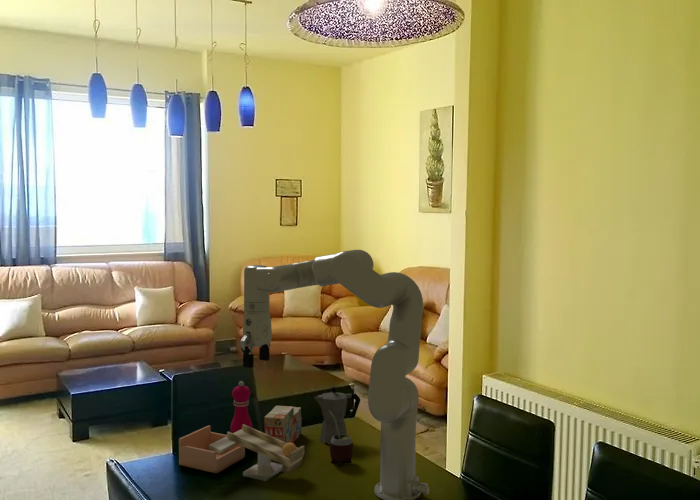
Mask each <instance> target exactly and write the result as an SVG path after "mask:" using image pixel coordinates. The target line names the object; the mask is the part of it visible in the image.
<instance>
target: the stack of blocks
mask: <svg viewBox="0 0 700 500" xmlns="http://www.w3.org/2000/svg"><path fill="white" fill-rule="evenodd" d="M263 419H264V421H263V422H264V427H263V428H264V429H263V430H264V432H263V433H265V434H267V435H269V436H272V437H274V438H276V439H279V440H281V441H283V442H285V443H293V444H295V442H296V441H297V439H299V438H300V436H301V435H302V407H300V406H299V407H297V406H287V405H275V406H274V407H273V408H272V409H271V411H269V412H268V413H267V414H266V415H265V416H264V417H263ZM299 435H300V436H299ZM294 441H295V442H294Z"/></svg>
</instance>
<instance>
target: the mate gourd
mask: <svg viewBox="0 0 700 500" xmlns="http://www.w3.org/2000/svg"><path fill="white" fill-rule="evenodd" d="M329 412H330V414H331V415H332V417H333V418H334V422H335V425H336V429H337V433H338V435H335V436H333V437H332V439H331V441H330V445H329V454H330V459H331V460H330V463H331V464H338V467H339V468H342V467H341V466H343V464H342V463H351V464H352V457H353V452H354V450H353V449H354V444H353V443H354V442H353V440H352V438H351V437H350V436H349V435H348V434H347V435H343V434H339V430H338V426H337V420H336V419H335V417H334V415H333V414H332V413H331V411H330V410H329Z"/></svg>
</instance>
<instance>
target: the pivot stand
mask: <svg viewBox="0 0 700 500" xmlns="http://www.w3.org/2000/svg"><path fill="white" fill-rule="evenodd" d="M282 466H283V464H281V463H279V462H277V463H276V462H274V461H273V462H272V459H270V458H268V457H265V456H263V455H261V454H259V453H257V463H256V464H254V465H252V466H251V467H249V468H248V469H245V470H243V471H242V477H246V478H251V479H254V480H259V481H262V482H263V481H264V482H267V481H269V480H270V479H272V478H274V477H275V476H276V474H277V475H279V474H280V473H281V472H283V471H282ZM279 472H280V473H279ZM273 476H274V477H273Z"/></svg>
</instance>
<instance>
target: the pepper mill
mask: <svg viewBox="0 0 700 500" xmlns="http://www.w3.org/2000/svg"><path fill="white" fill-rule="evenodd" d="M244 384H245V383H244V381H242V380H239V382H238V385H237V386H235V387H234V388H233V389H232V392H231V397H232V399H234V400H233V406H234V415H233V418H232V420H231V423H230V428H229V429H230V432H231V433H235V432H237V431H239V430H241V429H242V425H243V424H244V425H247V426H249V427H251V428H253V422H252V420H251V416H250V415H249V410H248V406H249V404H250V400H249V399H250V396H251V390H250V388H249V387H248V386H247V385H244Z"/></svg>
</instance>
